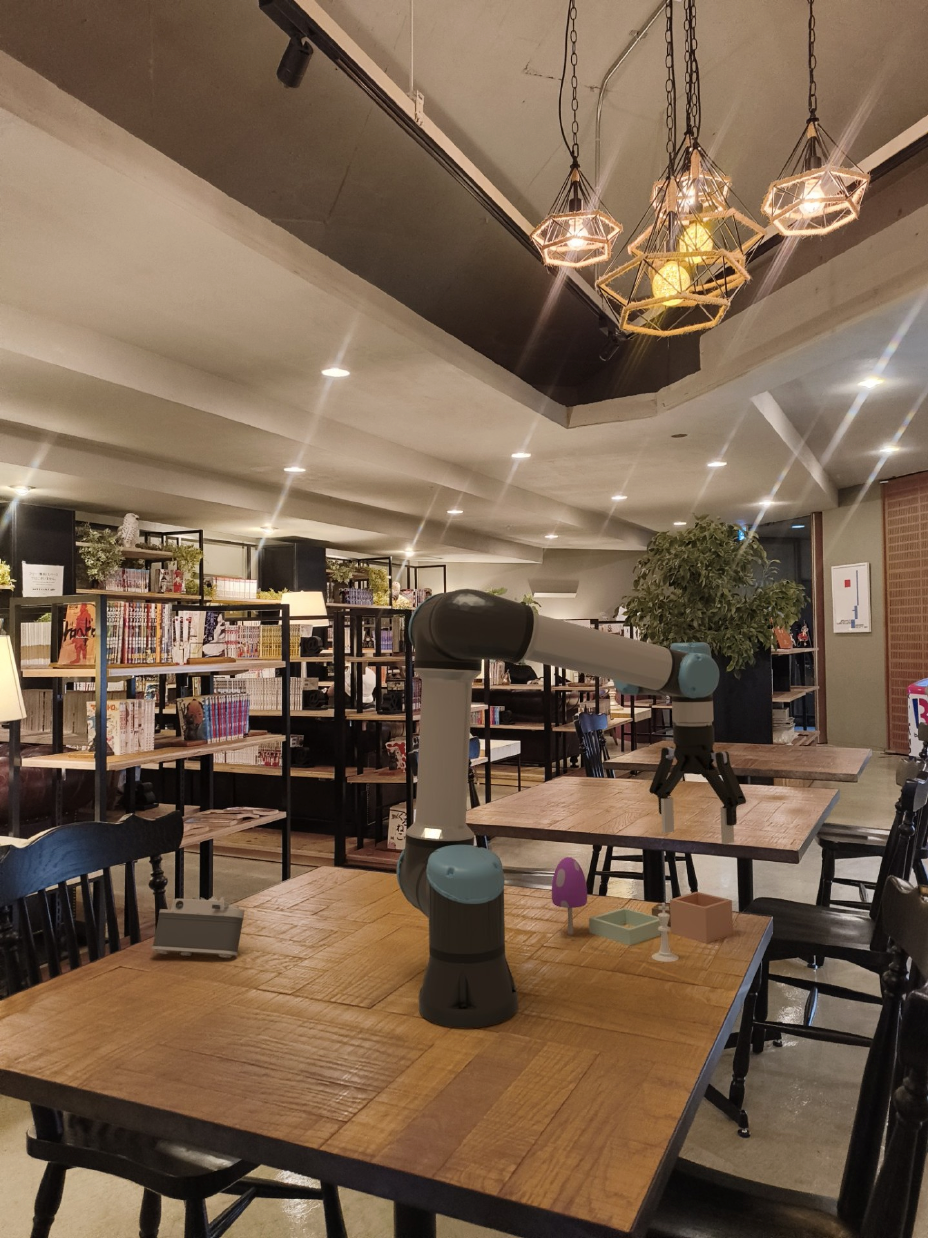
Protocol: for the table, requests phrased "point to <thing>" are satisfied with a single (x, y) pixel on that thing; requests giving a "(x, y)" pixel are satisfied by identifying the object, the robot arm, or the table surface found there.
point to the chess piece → (664, 938)
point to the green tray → (611, 928)
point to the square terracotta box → (701, 917)
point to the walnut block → (656, 911)
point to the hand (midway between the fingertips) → (697, 837)
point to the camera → (199, 928)
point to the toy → (569, 887)
